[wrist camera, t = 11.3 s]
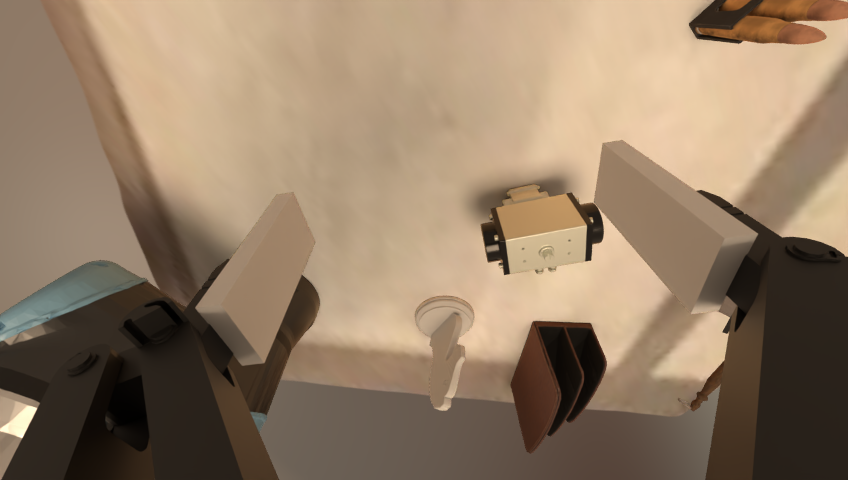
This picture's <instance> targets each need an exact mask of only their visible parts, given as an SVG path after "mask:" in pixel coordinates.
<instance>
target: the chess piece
mask: <svg viewBox="0 0 848 480" xmlns="http://www.w3.org/2000/svg"><path fill="white" fill-rule="evenodd" d="M415 321H416V324H417V327H418V328H419V329H420V331H422V332H423V333H424V334H425V335H427V336H428V337H430V338H431V341H430V346H431V347H432V349H433V350H432V351H433V358H432V365H431V373H430V379H429V381H430V382H429V385H430V386H429V388H430V391H429V393H430V398H431V402H432V405H434V408H435V409H438V410H443V411H444V410H447V409H448V408H450V406H451V398H453V397H454V395H455V393H456V390H457V386H458V379H459V373H460V370H461V367H462V364H463V362H464V360H465V358H466V357H465V347H464V346H462V345H460V344H459V345H458V344H457V342H458V339H459V337H461V336H463V335H464V334H465V333H466V332H467V331H469V329H470V328H471V327H472V325H473V322H474V312H473V309H472V307H471V306H470V305H469V304H468V303H467V302H465V301H464V300H462V299H460V298H457V297H452V296H438V297H434V298H431V299H428V300H426V301H424V302H423V303H422V304H421V305H420V306H419V307H418V308H417V310H416V313H415Z"/></svg>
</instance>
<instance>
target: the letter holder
mask: <svg viewBox="0 0 848 480" xmlns="http://www.w3.org/2000/svg"><path fill="white" fill-rule="evenodd" d="M606 366H607V361H606V358H605V355H604V353H603V351H602V348H601V346H600V344H599V341H598V339H597V337H596V335H595V332H594V330H593V328H592V325H591V324H590V323H563V322H537V321H535V322H533V324H532V327H531V330H530V333H529V336H528V339H527V341H526V344H525V347H524V349H523V352H522V355H521V357H520V360H519V363H518V366H517V369H516V371H515V374H514V377H513V380H512V382H511V388H512V392H513V396H514V401H515V406H516V410H517V414H518V418H519V423H520V427H521V431H522V436H523V440H524V444H525V448H526V450H527V452H529V453H533V452H534V451H535V450H536V449H537V448H538V447H539V445H540V444H541V443H542V441H543V440H544V438H545V437H546V435H548V436H552V435H554V434H555V433H556V432H557V431H558V429H559V428H560V427H561V426H562V425H563V423H564V422H565V420H567V422H569V423H571V422H573V421H575V419H577V417H578V416H579V415H580V414H581V413H582V411H583V410H584V409H585V407H586V406H587V405H588V403H589V402H590V400H591V398H592V397H593V395H594V394H595V392H596V390H597V388H598V386H599V384H600V383H601V380H602V378H603V376H604V373H605V370H606Z"/></svg>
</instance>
